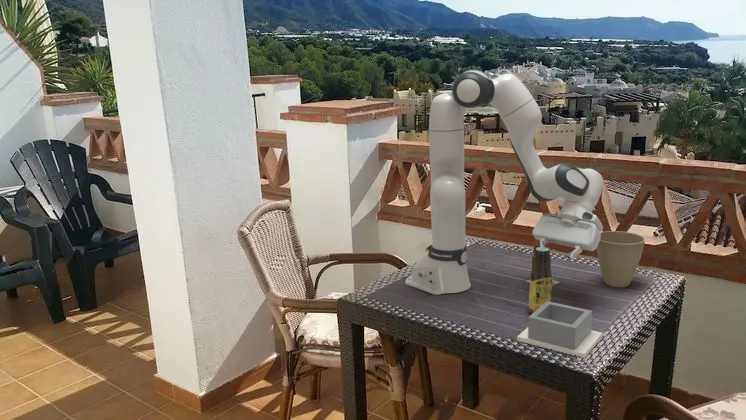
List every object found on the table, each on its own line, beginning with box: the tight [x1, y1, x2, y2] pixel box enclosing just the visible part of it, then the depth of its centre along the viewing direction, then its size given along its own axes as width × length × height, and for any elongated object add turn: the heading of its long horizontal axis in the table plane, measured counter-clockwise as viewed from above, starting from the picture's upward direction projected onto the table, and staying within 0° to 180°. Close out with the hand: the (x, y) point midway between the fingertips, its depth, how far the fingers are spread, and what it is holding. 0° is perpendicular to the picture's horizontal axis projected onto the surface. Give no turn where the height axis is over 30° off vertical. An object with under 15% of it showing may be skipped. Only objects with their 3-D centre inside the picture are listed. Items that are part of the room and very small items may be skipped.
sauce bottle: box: [528, 247, 553, 315], centre depth 171 cm, size 7×6×20 cm
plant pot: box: [596, 230, 646, 288], centre depth 191 cm, size 15×15×16 cm
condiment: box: [526, 245, 560, 286], centre depth 196 cm, size 7×8×12 cm
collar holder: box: [516, 301, 604, 359], centre depth 156 cm, size 18×14×7 cm
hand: (555, 255), depth 175 cm, fingers open, 8 cm apart
